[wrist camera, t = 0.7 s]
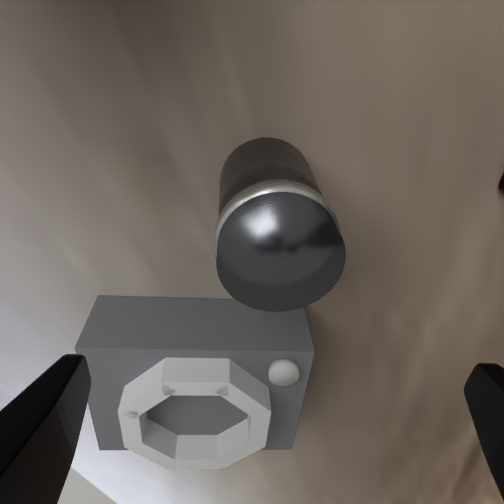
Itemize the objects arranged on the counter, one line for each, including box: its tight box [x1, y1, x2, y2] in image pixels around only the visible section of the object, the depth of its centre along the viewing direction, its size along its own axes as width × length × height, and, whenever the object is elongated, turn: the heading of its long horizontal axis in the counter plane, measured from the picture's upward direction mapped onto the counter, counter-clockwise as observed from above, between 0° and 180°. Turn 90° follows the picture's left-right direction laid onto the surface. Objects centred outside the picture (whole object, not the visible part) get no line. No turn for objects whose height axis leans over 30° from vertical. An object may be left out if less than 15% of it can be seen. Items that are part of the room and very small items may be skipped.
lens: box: [214, 138, 345, 312], centre depth 16 cm, size 5×5×7 cm
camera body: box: [75, 296, 315, 469], centre depth 23 cm, size 12×9×6 cm
